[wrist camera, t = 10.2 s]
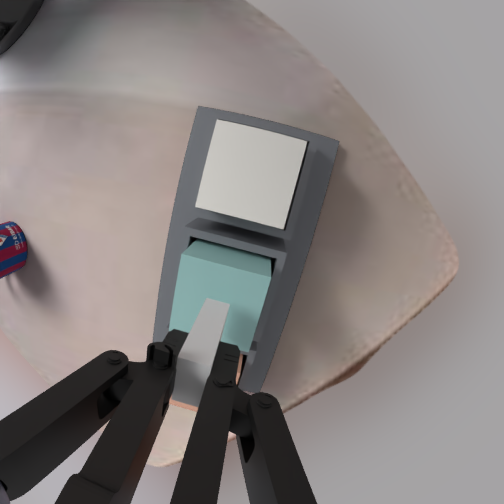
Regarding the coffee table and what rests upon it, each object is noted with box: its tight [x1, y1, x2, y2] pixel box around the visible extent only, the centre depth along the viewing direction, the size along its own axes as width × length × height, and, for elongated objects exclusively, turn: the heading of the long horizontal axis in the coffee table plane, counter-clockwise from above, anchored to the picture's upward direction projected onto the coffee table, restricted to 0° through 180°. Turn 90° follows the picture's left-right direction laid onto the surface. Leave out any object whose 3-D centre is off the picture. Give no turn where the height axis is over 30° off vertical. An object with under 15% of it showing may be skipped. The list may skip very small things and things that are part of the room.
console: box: [153, 106, 339, 393], centre depth 26 cm, size 28×13×6 cm, turn 166°
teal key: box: [169, 238, 271, 352], centre depth 22 cm, size 6×6×5 cm
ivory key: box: [195, 119, 307, 229], centre depth 21 cm, size 6×6×5 cm
